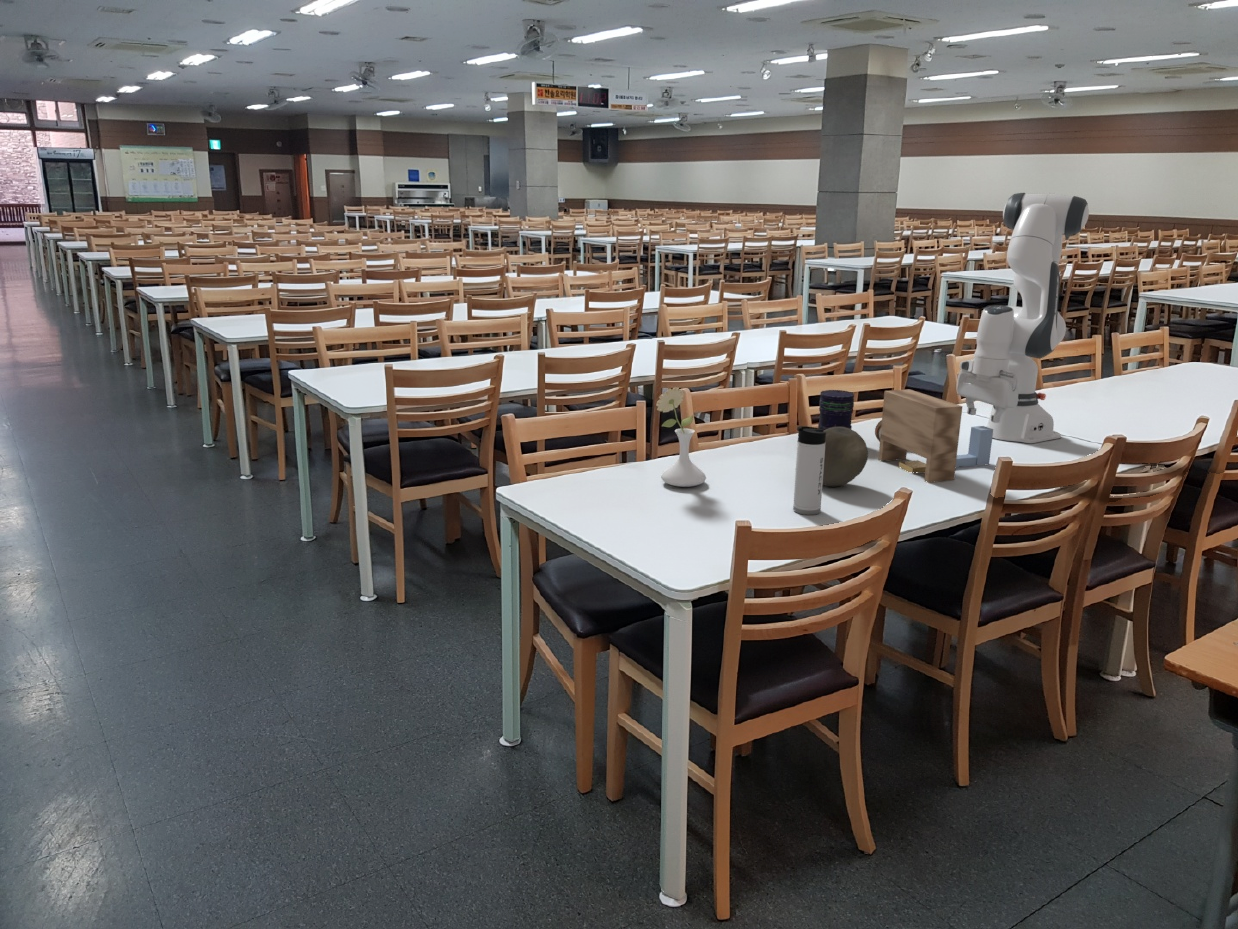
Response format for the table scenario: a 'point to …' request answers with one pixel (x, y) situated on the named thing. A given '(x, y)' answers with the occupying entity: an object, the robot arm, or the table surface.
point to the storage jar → (835, 409)
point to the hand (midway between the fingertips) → (982, 418)
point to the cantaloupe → (843, 456)
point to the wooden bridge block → (921, 431)
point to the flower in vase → (683, 468)
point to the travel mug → (809, 470)
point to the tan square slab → (913, 466)
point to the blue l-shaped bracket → (977, 447)
